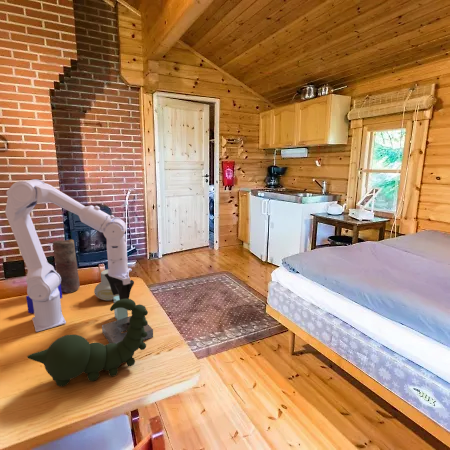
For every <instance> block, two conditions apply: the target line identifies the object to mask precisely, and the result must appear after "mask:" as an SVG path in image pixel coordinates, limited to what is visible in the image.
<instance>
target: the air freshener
mask: <svg viewBox="0 0 450 450" xmlns="http://www.w3.org/2000/svg"><path fill="white" fill-rule="evenodd" d="M105 274H108V268H107V269H104V270H102V271H101V272H100V282H99V283H98V284H96V286H95V288H94V290H93V292H94V293H93V294H94V295H95V297H96V298H98V299H100V300H103V301H109V302H110V301H114V299H113V297H115V296H119V294H116V295H113V293H112V291H111V287H110V284H109V282H108V280H107V278H106V277H105Z"/></svg>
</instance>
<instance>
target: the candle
mask: <svg viewBox="0 0 450 450" xmlns="http://www.w3.org/2000/svg"><path fill="white" fill-rule="evenodd" d="M52 247H53V248H52V249H53V255H54V264H55V271H56V272H57V273H58V274H59V275H60V277H61V292H62V293H67V294H71V293H74V292H76V291H78V290H79V289H80V286H81V285H80V278H79V277H80V276H79V272H78V271H79V270H78V261H77V256H76V254H77V253H76V247H75V240H74V239H73V238H72V239H71V238H70V239H67V240H56V241H53V242H52Z"/></svg>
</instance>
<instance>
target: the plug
mask: <svg viewBox="0 0 450 450" xmlns="http://www.w3.org/2000/svg"><path fill="white" fill-rule="evenodd" d="M113 299H114V300H113V304H114V303H115V302H117V301H118V300H120V299H119V296H115V297H113ZM113 311H114V318H115V319H116V321H117V320H120V319H123V318H126V317H129V313H128V311H129V310H127V309H125V308H116V309H114V310H113Z"/></svg>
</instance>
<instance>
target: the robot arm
mask: <svg viewBox="0 0 450 450" xmlns="http://www.w3.org/2000/svg"><path fill="white" fill-rule="evenodd" d="M6 196H7V199H6V200H7V201H6V204H5V205H6V206H5V210H4V212H5V216H6V219H7V221H8V224H9V226H10V228H11V231H12V234H13V236H14V239H15V241H16V244H17V247H18V249H19V252H20V254H21V257H22V259H23V261H24V264H25V266H26V268H27V274H26V277H25V282H26V284H27V286H26V287H27V288H26V293H27V296H29V297H30V298H31V299H32V300H33V308H34V313H33V315H34V317H32V323H33V325H34V326H33V327H34V330H35V332H36V333H38V332H41V331H45V330H49V329H51V328H55V327H58V326H62V325H66V323H67V321H66V319H65V317H64V315H63V313H62V311H63V310H62V304H61V303H62V302H61V299H60V292H59V290H58V286H59V285H60V283H61V277H60V275H59V274H58V273H57V272H56V269H55V267H54V266H53V265H52V264H50V263H49V262H48V260H47V257H46V255H45V252H44V249H43V245H42V243H41V241H40V239H39V236H38V233H37V231H36V228H35V225H34V223H33V219H32V217H31V215H30V214H31V212H32V211H33V209H34V208H35V206H36V205H38V204H47V203H48V204H50V203H51V204H54V205H56V206H57V207H60V208H63V209H64V210H66V211H67V212H71V213H72V214H75V215H77V216H78V218H79V220H80V223H83V224H84V225H86V226H88V227H91V228H92V229H94V230H95V231H97V232H99V233H102V235H103V236H104V238H105V239H106V254H107V269H108V274H105V277H106V278H107V280H108V282H109V284H110V287H111V291H112V293H113V295H116V294H119V299H120V300H121V299H130V294H131V291H132V288H133V287H134V285H135V281H134V280H132V279H131V277H130V276H129V273H130V272H132V270H133V269H132V268H131V267H128V266H129V265H128V252H127V250H128V249H127V241H126V239H127V238H126V234H125V233H126V231H127V224H126V222H125V221H124V220H123V219H122V218H120V217H115V215H113V214H111V215H110V214H108V213H106V212H105V211H103V210H101V207H100V206H98V205H95V206H94V205H92V204H91V205H87V206H85V205H84V204H82V203H81V202H79V201H78V200H75V199H74V198H72V197H71V196H69V195H67V194H66V193H64V192H62V191H61V190H59V189H58V188H56V187H54V185H51V184H49V183H45V182H44V181H42V180H41V179H37V178H35V179H34V178H33V179H30V180H19V181H16V182H13V184H11V186H10V187H9V188H8V189H7V190H6Z"/></svg>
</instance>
